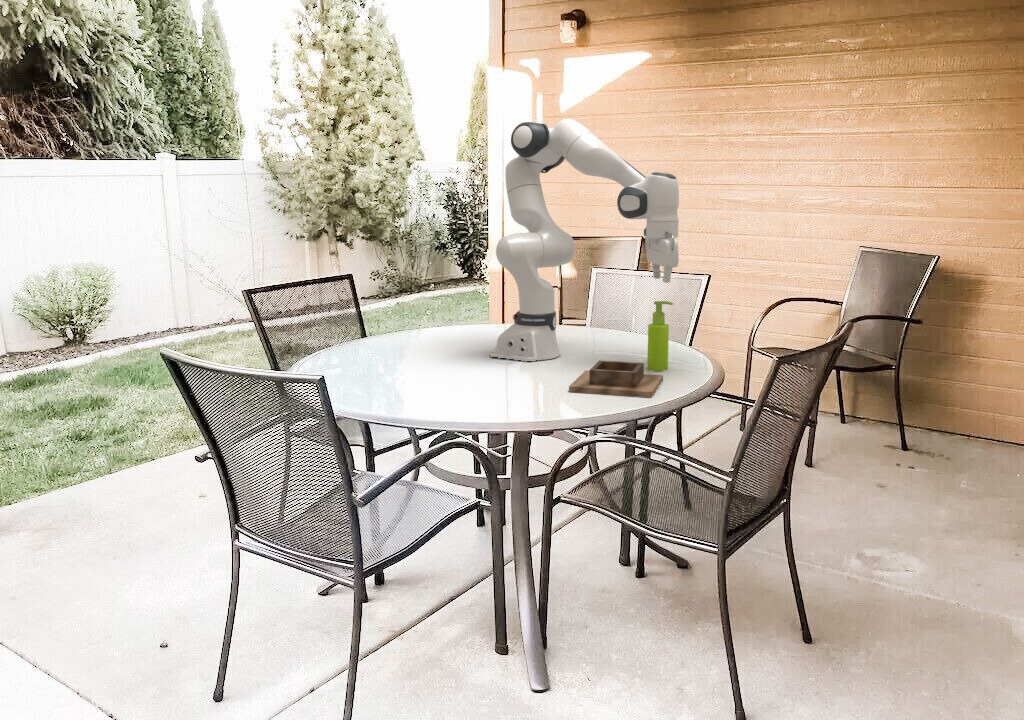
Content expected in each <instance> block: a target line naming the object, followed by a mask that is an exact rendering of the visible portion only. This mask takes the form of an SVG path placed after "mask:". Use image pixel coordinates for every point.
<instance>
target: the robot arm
mask: <svg viewBox="0 0 1024 720" xmlns="http://www.w3.org/2000/svg"><path fill="white" fill-rule="evenodd" d="M510 144H511V147H512V149H513V150H514V152H515V153H516V154H517V155H518V157H515V158H512V159H511V160H510V161H509V162H508V163H507V164H506V166H505V189H506V193H507V194H506V195H507V199H508V200H507V201H508V205H509V211H510V215H511V218H512V220H513V221H514V222H515V223H516V224H518V225H520V226H522V227H524V228H525V229H526V230H527V231H528V232H519V233H517V232H516V233H512V234H507V235H506V236H502V237H501V238H500V239H499V241H498V242H497V244H496V246H495V247H496V248H495V254H496V255H495V256H496V259H497V261H498V263H499V264H500V265H501V267H503V268H504V269H505V270H507V271H508V272H509V273H510V274H511V276H512V277H513V280H514V281H515V283H516V286H517V291H518V300H519V310H517V311H516V313H514V314H513V315H512V320H513V322H514V323H513V324H512V325H510V326H509V327H507V329H506V330H504V331H503V332H502V333H500V334H499V336H498V338H497V340H496V348H493V349H492V350H490V352H489V357H490V356H491V357H490V358H492V357H498V358H497V359H500V358H506V359H505V360H509V359H514V360H513V361H518V360H521V361H520V362H527V361H532V362H536V360H537V361H543V360H551V359H554V358H558V357H560V355H561V353H560V351H559V350H560V349H559V345H558V340H557V334H556V328H557V312H556V311H555V288H554V286H553V285H552V284H551V283H550V281H547V280H546V279H544V278H541V277H540V275H539V271H538V270H539V269H540V268H542V269H543V268H552V267H553V268H554V267H559V266H563V265H565V264H566V265H567V264H568V263H571V261H573V258H574V257H575V255H576V243H575V241H574V238H573V237H572V235H570V234H569V233H568V232H566V231H564V230H563V229H562V228H561V227H559V226H558V225H557V223H556V222H555V221H554V219H553V218H552V216H551V215H550V213H549V211H548V208H547V204H546V201H545V196H544V193H543V187H542V183H541V177H540V176H541V174H546V173H548V172H550V171H551V170H553V169H555V168H557V167H558V166H560V165H561V164H562V163H563V162H564V160H566V162H568V163H569V165H571V166H572V167H573V168H574V169H575V170H576V171H578V172H580V173H582V174H583V175H586V176H591V177H598V178H604V179H608V180H612V181H614V182H616V183H618V184H619V185H621V186H622V187H623V188H622V189H621V191H620V192H619V193H618V196H617V200H616V201H617V202H616V205H617V206H616V207H617V210H618V212H619V214H620V215H621V216H622V217H623V218H625V219H628V220H643V219H644V220H645V219H646V225H645V228H644V229H643V237H645V240H644V241H645V243H644V244H645V245H644V246H645V257H646V260H647V262H649V263H651V268H652V276H653V277H652V278H653V279H655V280H656V279H661V277H662V282H663V283H665V284H667V283H670V282H671V276H672V273H673V268H678V267H679V260H680V259H679V257H680V256H679V243H678V240H677V239H678V238H679V223H680V222H679V215H678V209H679V206H680V189H679V182H678V179H677V177H676V176H675V175H674V174H672V173H668V172H656V171H655V172H651V173H649V175H648V176H647V177H646V176H645V175H644V174H643V173H642V172H640V171H639V170H638V169H636V167H634V166H633V165H631V164H630V162H627V161H626V160H625V159H623V158H622V157H621V156H619V155H618V154H617V153H616V152H615V151H614V150H612V149H611V148H610V147H608V146H607V145H606V144H605V143H604V142H603V141H601V139H599V137H597V136H596V135H595V134H594V133H593V132H592V131H591V130H590V129H588V128H587V127H586V126H585V125H583V124H582V123H580V122H578V121H576V120H575V119H573V118H563V119H561V120H559V121H558V122H557V123H556V124H555V125H554V126H553V127H548V125H547V124H546V123H540V122H532V121H524V122H521V123H519V124H518V125H516V127H515V128H513V131H512V132H511V135H510ZM675 238H676V239H675ZM660 267H663V275H662V276H661V274H662V273H661V270H660V269H661V268H660Z"/></svg>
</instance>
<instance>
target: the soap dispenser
mask: <svg viewBox="0 0 1024 720" xmlns="http://www.w3.org/2000/svg"><path fill="white" fill-rule="evenodd" d="M653 305H655V311H654V312H653V313H652V323H649V324H647V329H648V330H647V368H648V369H649V371H651V370H653V371H652V372H664V371H663V370H666V371H667V369H669V337H670V336H669V335H670V333H669V331H670V326H669V324H667V323H666V322H665V319H666V318H665V316H666V314H665V312H664V311H662V310H663V305H669V306H673V305H674V302H672V301H668V300H660V301H659V300H657V301H654V302H653ZM648 369H647V370H648Z"/></svg>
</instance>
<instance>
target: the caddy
mask: <svg viewBox="0 0 1024 720" xmlns="http://www.w3.org/2000/svg"><path fill="white" fill-rule="evenodd" d="M644 372H645V363H644V362H635V361H621V360H620V361H618V360H617V361H616V360H601V359H600V360H598V361H597V362H596V363H595V364H594V365H593V366H592V367H591V368H590V369H589V370H584V371H583V373H581V374H580V375H579V376H578V377H576V379H575V380H574V381H573V382H572V383H571V384H570V385H569V386H568V392H569V393H579V394H592V395H593V394H594V395H606V394H607V396H620V395H621V396H624V397H634V396H641V397H640V398H648V397H652V396H653V397H654V396H655V394H656V393H657V391H658V389H659V388H660V386H661V384H662V383H661V382H663V380H664V375H663V374H650V373H646V374H645V373H644ZM659 385H660V386H659ZM656 390H657V391H656ZM654 393H655V394H654ZM642 396H643V397H642ZM653 397H652V398H653Z"/></svg>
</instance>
